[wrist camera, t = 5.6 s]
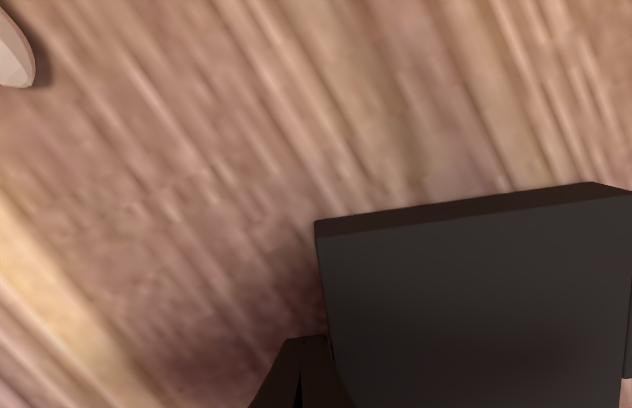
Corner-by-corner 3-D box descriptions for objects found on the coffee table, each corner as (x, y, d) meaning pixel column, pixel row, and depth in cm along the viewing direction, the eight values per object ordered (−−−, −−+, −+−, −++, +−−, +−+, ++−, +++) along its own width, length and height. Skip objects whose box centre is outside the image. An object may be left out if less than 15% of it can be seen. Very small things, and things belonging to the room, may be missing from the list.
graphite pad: (347, 437, 12) (351, 482, 10) (313, 220, 10) (314, 238, 8) (652, 398, 12) (700, 438, 10) (682, 168, 10) (747, 177, 8)
